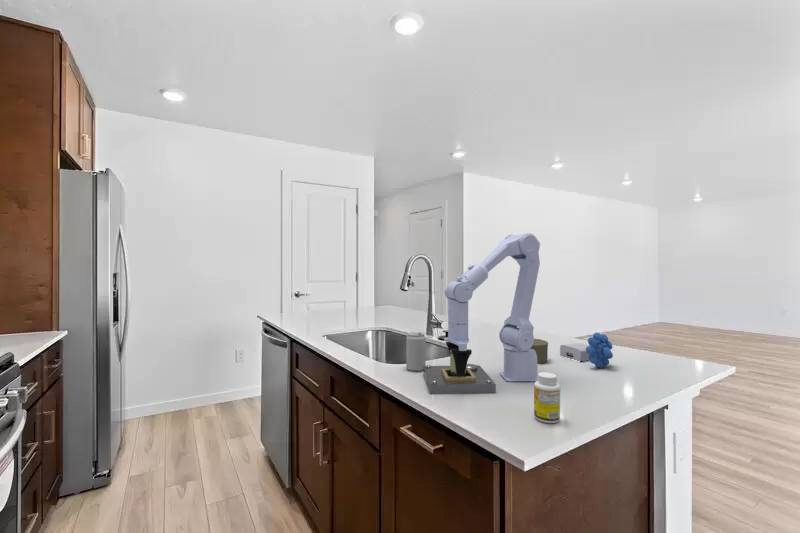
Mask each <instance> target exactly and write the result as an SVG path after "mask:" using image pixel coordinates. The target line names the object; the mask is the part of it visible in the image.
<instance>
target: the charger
mask: <svg viewBox="0 0 800 533" xmlns="http://www.w3.org/2000/svg"><path fill="white" fill-rule="evenodd" d="M587 346H590V345H589V344H585V343H583V342H582V343H581V342H577V343H568V344H561V345H560V347H559V355H560V357H561V356H563V357H562V358H564V357H567V358H570V359H569V360H571V359H574V360H577V361H583V362H587V361H586V360H589V356H590V355H589V354H588V353H587V352H586V348H587ZM567 358H566V359H567ZM574 360H573V361H574ZM577 361H576V362H577Z"/></svg>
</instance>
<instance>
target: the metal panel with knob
mask: <svg viewBox="0 0 800 533" xmlns="http://www.w3.org/2000/svg"><path fill="white" fill-rule="evenodd" d="M422 372H423V373H422V374H423V376H424V380H425V384H426V387H427V390H428V393H429V395H437V394H438V395H443V394H446V395H447V394H448V395H449V394H452V393H453V394H454V393H455V394H454V395H459V393H462V394H463V393H465V394H496V389H497V388H496V387H497V386H496V385H497V384H496V383H495V382H494V381H493V379H492V377H491V376H489V374H488V373H487V372H486V371H485V370H484V369H483V368H482V366H481V365H478V364H474V363H467V365H466V376H462V377H450V365H430V364H426V366H423V371H422ZM456 393H458V394H456ZM453 394H452V395H453Z"/></svg>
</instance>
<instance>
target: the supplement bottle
mask: <svg viewBox="0 0 800 533" xmlns="http://www.w3.org/2000/svg"><path fill="white" fill-rule="evenodd" d="M537 379H538V381H534V385H533V386H534V390H533V393H534V394H533V395H534V396H533V400H534V401H533V402H534V403H533V405H534V406H533V411H534V412H533V415H534V418H535V419H536V420H538V422H541V423H544V424H545V423H546V424H556V423H558V422H559V421H560V419H561V385H560V384H559V383H558V382H557V375H556V374H555V373H552V372H546V371H545V372H542V371H541V372H539V373H537Z"/></svg>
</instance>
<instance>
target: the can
mask: <svg viewBox="0 0 800 533" xmlns="http://www.w3.org/2000/svg"><path fill="white" fill-rule="evenodd" d="M530 349H534V350H535V352H536V354H537V364H541V365H545V364H544V363H546V364H547V363H548V355H549V354H548V350H549V341H546V340H545V339H540V338H534V343H533V345H532V347H531V348H530Z"/></svg>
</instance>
